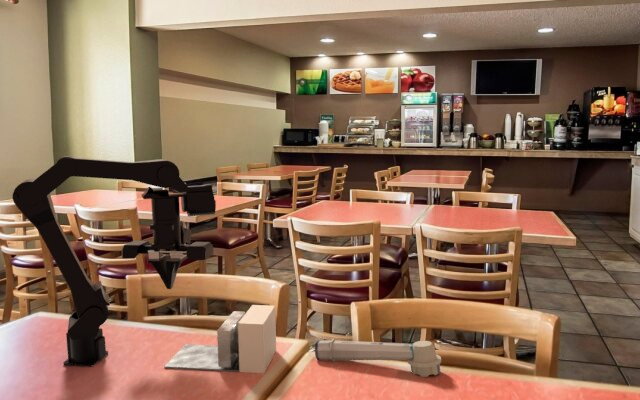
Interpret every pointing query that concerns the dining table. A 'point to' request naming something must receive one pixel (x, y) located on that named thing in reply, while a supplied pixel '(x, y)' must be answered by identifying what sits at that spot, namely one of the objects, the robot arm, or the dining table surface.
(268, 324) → the socket
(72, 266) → the robot arm
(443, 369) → the dining table surface
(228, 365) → the grey piece
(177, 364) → the plate
